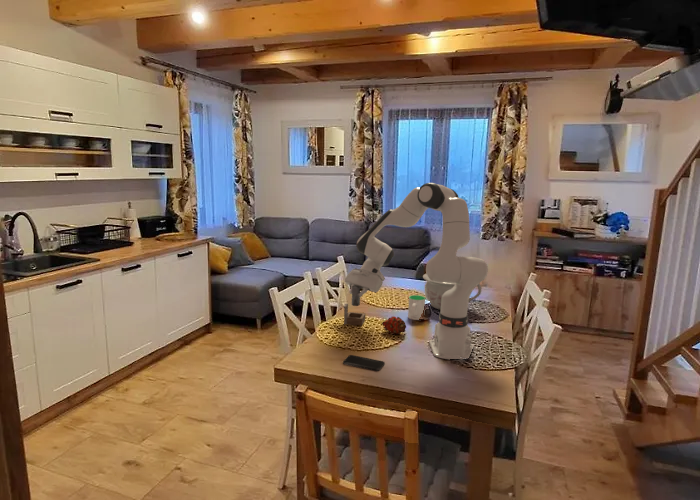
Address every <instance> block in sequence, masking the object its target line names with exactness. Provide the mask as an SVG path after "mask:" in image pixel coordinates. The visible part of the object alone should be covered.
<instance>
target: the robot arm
mask: <svg viewBox="0 0 700 500" xmlns="http://www.w3.org/2000/svg"><path fill="white" fill-rule="evenodd" d="M428 209H431V210H434V211H438V212H440V213H441V214H442V215H441V216H442V238H441V243H440V247H439V249H438V251H437V252H436V253H435V255H433V256H432V257H431V258H430V259H429V260H428V261H427V263H426V266H425V272H426V273H427V276H428V278H429V279H430V280H431V281H435V282H441V283H456V284H455V285H454V287H453V288H452V289H450V290H448V291H446V292H445V293H444V294H443V295H442V298H441V310H440V312H439V314H438V322H437V323H435V324H434V334H433V339H429V341H428V342H429V346H430V348H431V352H432V354H433V356H434V357H436V358H440V359H443V360H444V359H445V360H450V359H463V358H469V356H470V354H471V355H472V353H473V351H472V349H473V347H474V348H475V345H474V344H473V343H472V339H471V337H472V333H471V327H470V326H469V325H468V322H469V315H468V309H469V303H470V302H469V298H471V294H472V293H473V291H474V290H475V288H476V287H478V286H477V285H478V284H481V283H482V282H483V281H484V280H486V278H487V277H488V274H489V267H488V264H487V262H486V260H484V259H483V258H480V257H475V256H457V252H458V251H459V250H461V249H462V248H464V247H466V246H467V245H468V244H469V242H470V239H471V237H470V236H471V235H470V231H471V230H470V229H471V228H470V213H469V207H468V203H467V202H466V200H465V199H463V198H461V197H459V194H458V193H457V192H456V191H455V190H454V189H452V188H449V187H447V186H445V185H442V184H438V183H434V182H426V183H423V184H422V185H421V186H420V187H418V186H417V187H415V188H413V189H412V190H411V191H410V192H409V193H408V194H407V195H406V196H405V197H404V199H403V200H402V202H401V203H400V205H398V207H396V208H392V209H391V208H390V209H388V210H387V211H385V212H384V213H383V214H382V215H381V216H380V217H379V218H378V219H377V221H375V222H374V223H373V225H372V226H371V227H369V229H367V231H365V232H364V233H363V234H361V236H360V237H359V238H358V239H357V241H356V249H357V252H358V253H361V254H362V255H364V256H366V257H367V258H366V259H365V261H364V262H363V263H362V266H361V267H360V268H357V267H356V268H353V269H351V271H350V272H348V274H347V275H346V276H345V278H344V282H345V284H346V285H348V286H350V290H349V292H348V293H349V294H351V295H352V286H360V292H359V293H358V296H360V298H362V297H363V296H364V294H366V293H367V292H368V291H369V292H372V293H378V292H379V291H380V289H381V288H382V285H383V282H384V281H385V280H386V278H385V276H384V275H383V273H382V272H381V268H382V267H387V266H390V265H389V264H390V263H391V260H392V258H393V257H395V251H394V249H393V248H392V247H391V246H390V245H389V244H387V243H385V242H383V241H381V240H380V239H378V238H377V237H375V236H376V235H377V234H378V233H379V232H380V231H381V230H382V229H383V228H384V227H385V226H397V227H400V228H410V227H413V226H415V225H416V224H417V223H418V222H419V221H420V219H421V218H422V217H423V215H424V214H425V212H426V211H427V210H428ZM426 273H425V274H426ZM361 289H362V290H361ZM468 302H469V303H468ZM470 346H472V347H470ZM473 350H474V349H473ZM471 352H472V353H471ZM460 357H463V358H460ZM470 357H471V356H470ZM469 359H470V358H469Z"/></svg>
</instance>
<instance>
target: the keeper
mask: <svg viewBox="0 0 700 500" xmlns="http://www.w3.org/2000/svg"><path fill="white" fill-rule="evenodd" d="M343 309H344V311H343V312H344V313H343V317H344V318H343V325H345V324H350V325H349V326H357V325H360V326H359V327H362V326H363V325H364V323H365V321H366V312H363V313H362V312H354V311H349V303H344V305H343Z"/></svg>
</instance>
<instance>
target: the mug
mask: <svg viewBox="0 0 700 500" xmlns="http://www.w3.org/2000/svg"><path fill="white" fill-rule="evenodd" d="M424 306H425V307H426V296H423V295H418V294H415V295H414V294H412V295H410V296H408V309H407V310H408V311H407V312H408V313H407V317H408V319H410V320H412V321H420V320H419V318H420V317H421V314H422V313H423V310H424ZM424 311H425V310H424Z"/></svg>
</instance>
